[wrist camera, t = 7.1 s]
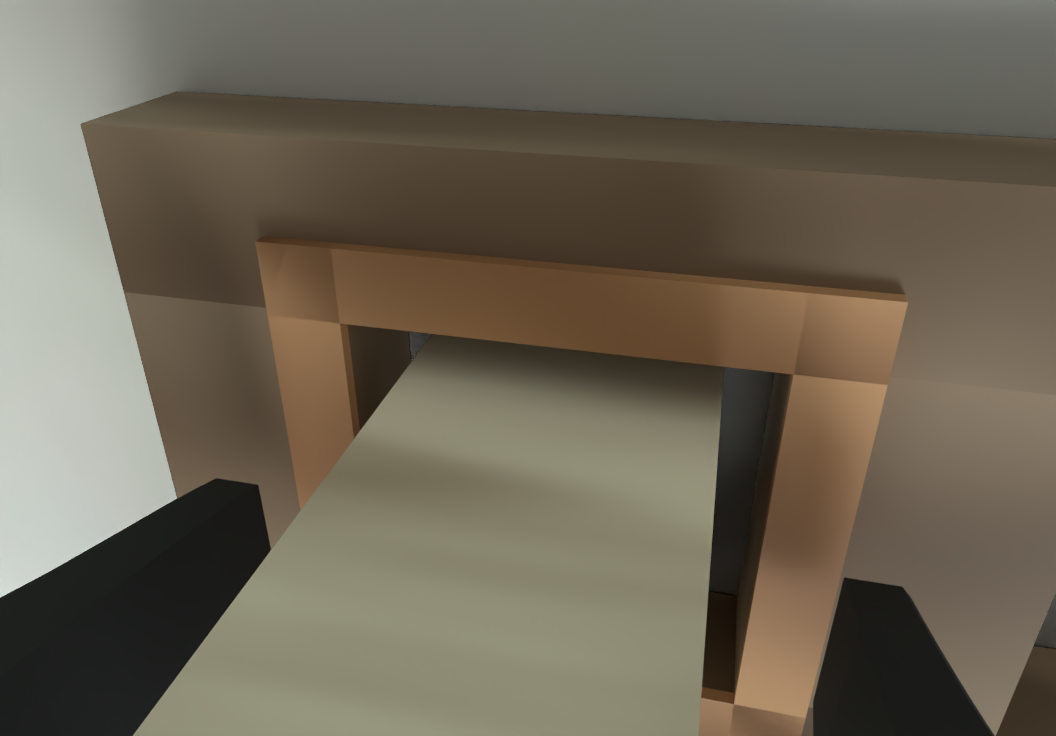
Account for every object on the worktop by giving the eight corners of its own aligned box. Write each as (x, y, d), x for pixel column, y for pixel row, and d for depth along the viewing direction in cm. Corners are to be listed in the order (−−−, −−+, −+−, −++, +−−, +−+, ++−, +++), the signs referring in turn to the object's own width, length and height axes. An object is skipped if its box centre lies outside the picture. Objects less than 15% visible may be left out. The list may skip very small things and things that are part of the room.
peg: (697, 549, 14) (637, 1185, 7) (464, 512, 15) (207, 1049, 8) (726, 332, 12) (685, 922, 5) (455, 302, 13) (101, 777, 6)
